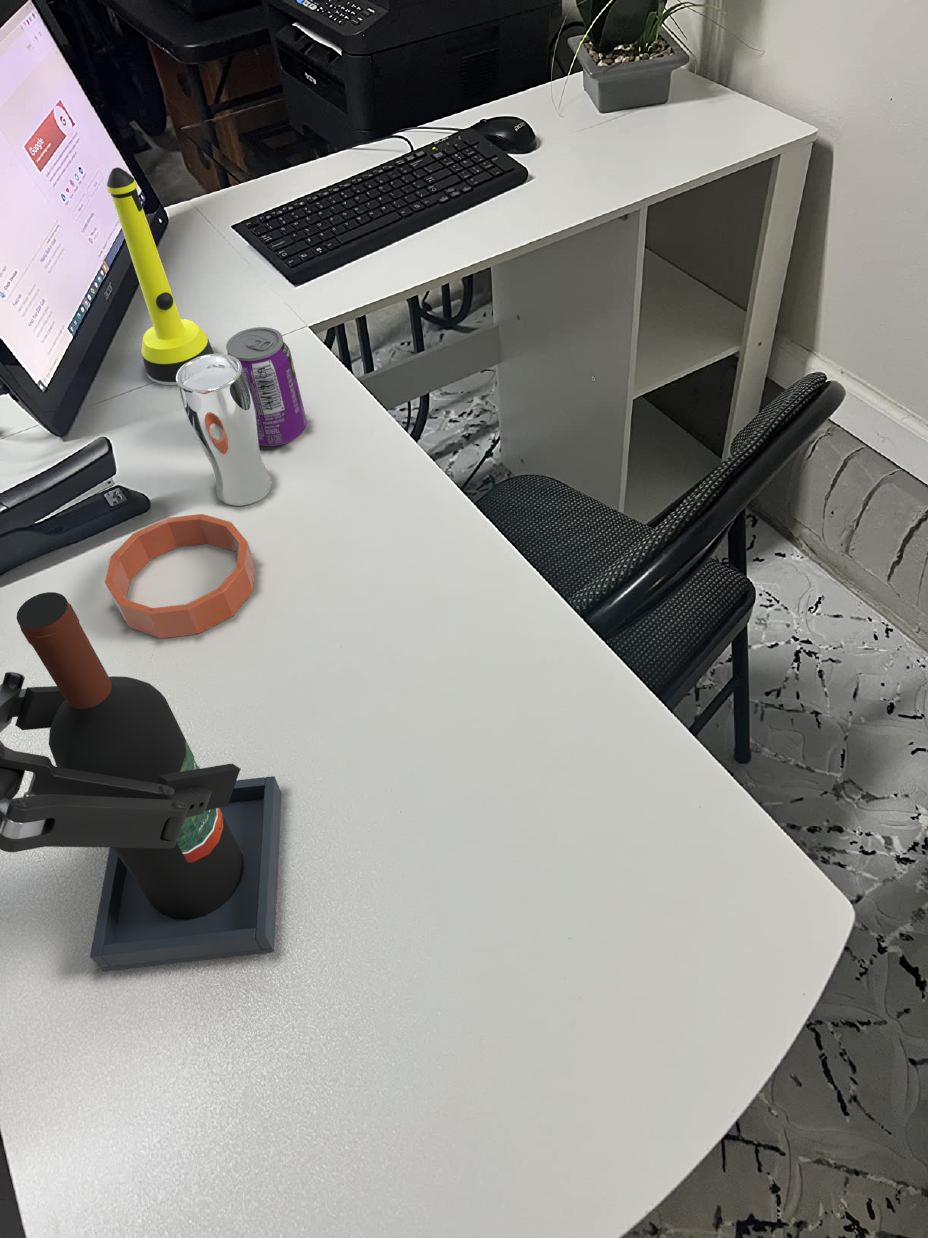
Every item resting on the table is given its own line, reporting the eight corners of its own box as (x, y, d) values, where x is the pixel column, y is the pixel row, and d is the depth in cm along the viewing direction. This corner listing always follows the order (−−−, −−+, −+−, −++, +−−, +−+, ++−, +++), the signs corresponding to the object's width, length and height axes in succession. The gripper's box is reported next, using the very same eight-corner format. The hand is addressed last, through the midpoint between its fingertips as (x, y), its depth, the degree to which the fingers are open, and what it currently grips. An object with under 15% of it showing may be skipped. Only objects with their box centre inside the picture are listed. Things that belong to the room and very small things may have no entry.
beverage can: (319, 421, 114) (299, 330, 105) (287, 456, 110) (264, 365, 101) (269, 409, 117) (245, 319, 108) (236, 443, 112) (208, 353, 103)
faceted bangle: (90, 614, 95) (77, 590, 93) (173, 527, 103) (163, 502, 101) (202, 653, 91) (192, 628, 88) (279, 558, 99) (272, 533, 96)
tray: (102, 971, 70) (89, 957, 68) (129, 810, 80) (119, 793, 78) (274, 952, 70) (266, 936, 69) (281, 792, 80) (274, 775, 78)
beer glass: (289, 480, 107) (258, 363, 96) (246, 516, 103) (209, 399, 92) (243, 461, 110) (208, 345, 99) (200, 495, 106) (159, 379, 95)
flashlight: (63, 168, 107) (93, 194, 102) (137, 144, 110) (170, 167, 105) (135, 363, 126) (164, 393, 120) (197, 338, 129) (227, 365, 124)
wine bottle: (153, 835, 77) (-9, 568, 55) (247, 825, 77) (122, 555, 55) (138, 925, 72) (-48, 670, 50) (239, 915, 72) (98, 656, 50)
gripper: (-306, 742, 52) (37, 716, 71) (-40, 989, 42) (276, 880, 61) (-273, 613, 51) (66, 622, 70) (9, 834, 40) (315, 773, 60)
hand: (164, 742), depth 65 cm, fingers open, 12 cm apart
